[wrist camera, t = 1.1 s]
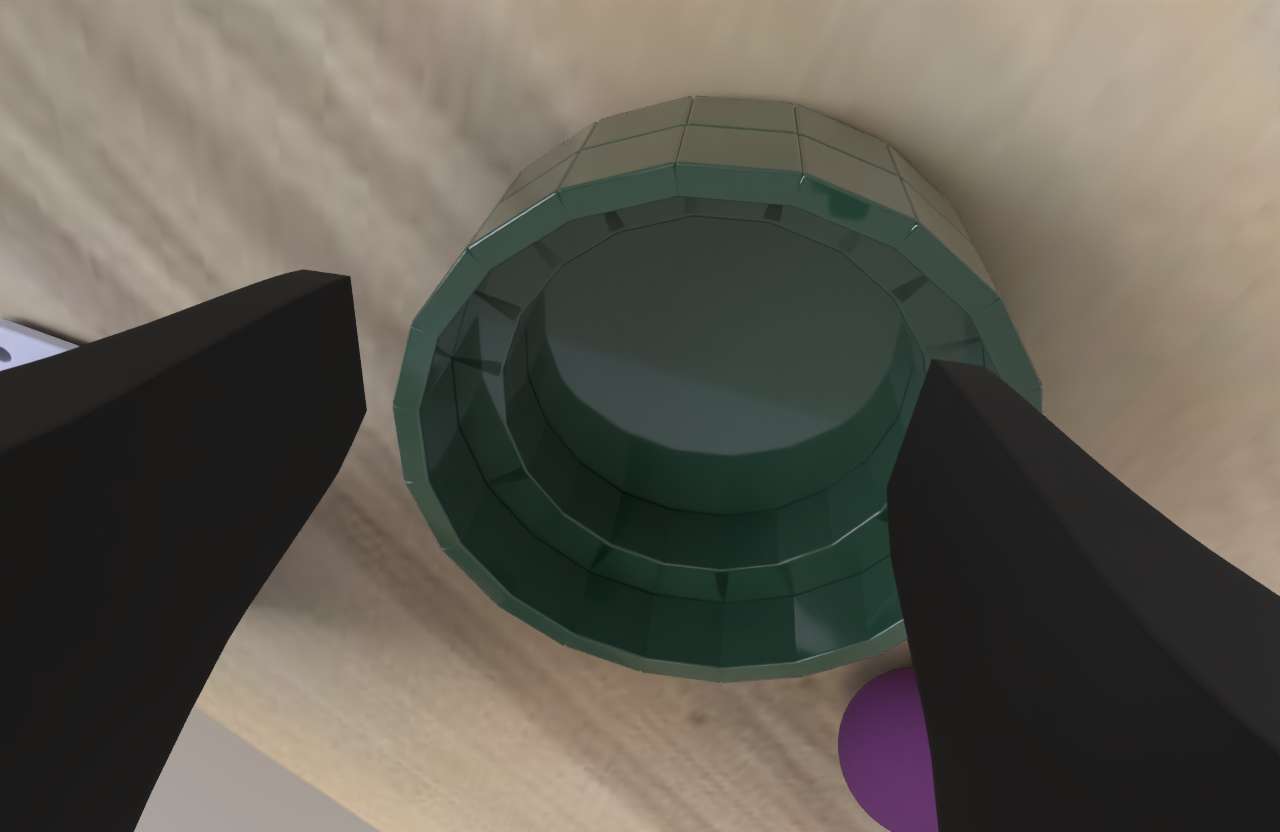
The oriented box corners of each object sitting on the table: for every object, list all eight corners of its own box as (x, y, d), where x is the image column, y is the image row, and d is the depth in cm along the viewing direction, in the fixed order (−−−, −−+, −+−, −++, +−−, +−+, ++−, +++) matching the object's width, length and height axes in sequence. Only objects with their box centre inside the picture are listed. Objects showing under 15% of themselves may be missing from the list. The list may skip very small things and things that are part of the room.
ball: (934, 745, 29) (962, 892, 25) (806, 702, 29) (814, 844, 25) (1019, 666, 26) (1066, 816, 22) (880, 615, 26) (902, 760, 22)
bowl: (824, 598, 26) (836, 740, 22) (420, 452, 24) (351, 574, 20) (1108, 230, 18) (1207, 343, 14) (546, -13, 17) (477, 34, 13)
